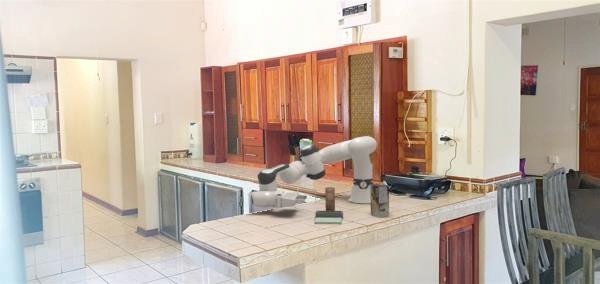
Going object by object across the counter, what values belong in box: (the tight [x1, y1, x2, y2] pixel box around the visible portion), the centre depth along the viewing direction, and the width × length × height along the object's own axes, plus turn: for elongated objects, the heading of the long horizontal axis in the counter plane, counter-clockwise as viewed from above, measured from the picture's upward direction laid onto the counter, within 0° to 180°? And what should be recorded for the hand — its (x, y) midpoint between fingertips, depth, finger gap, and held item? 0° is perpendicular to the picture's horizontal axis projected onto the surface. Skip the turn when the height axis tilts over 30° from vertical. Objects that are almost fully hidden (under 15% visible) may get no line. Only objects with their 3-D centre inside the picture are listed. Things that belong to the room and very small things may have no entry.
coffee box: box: [370, 183, 390, 218], centre depth 241 cm, size 9×6×16 cm
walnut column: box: [324, 186, 336, 211], centre depth 246 cm, size 5×5×14 cm
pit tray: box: [315, 210, 344, 220], centre depth 239 cm, size 5×14×3 cm, turn 83°
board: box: [314, 217, 343, 225], centre depth 230 cm, size 9×13×1 cm
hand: (305, 199), depth 248 cm, fingers open, 8 cm apart
